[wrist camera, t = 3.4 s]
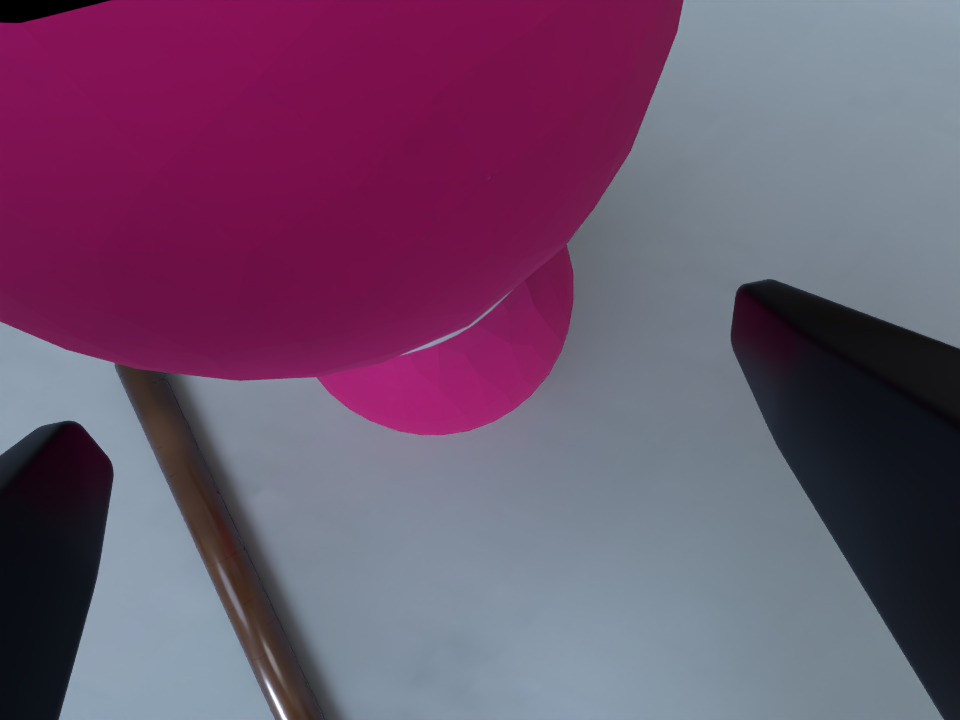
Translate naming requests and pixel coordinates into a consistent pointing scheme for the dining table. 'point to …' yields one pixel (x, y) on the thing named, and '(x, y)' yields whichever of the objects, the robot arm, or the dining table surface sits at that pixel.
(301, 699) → the spoon
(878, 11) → the dining table surface
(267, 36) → the pepper mill
